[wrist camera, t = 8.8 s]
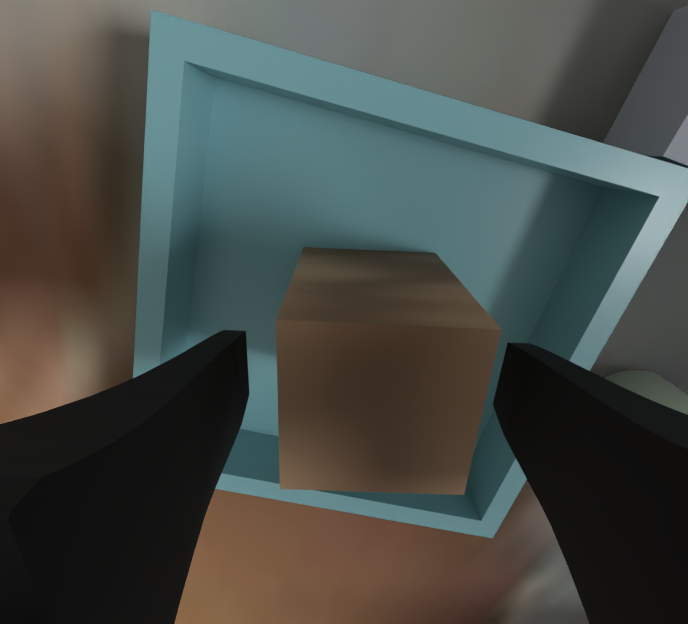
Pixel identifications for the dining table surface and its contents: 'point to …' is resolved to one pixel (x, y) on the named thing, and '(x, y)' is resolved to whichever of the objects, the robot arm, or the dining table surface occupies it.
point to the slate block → (659, 100)
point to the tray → (374, 229)
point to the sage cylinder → (652, 388)
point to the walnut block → (380, 373)
